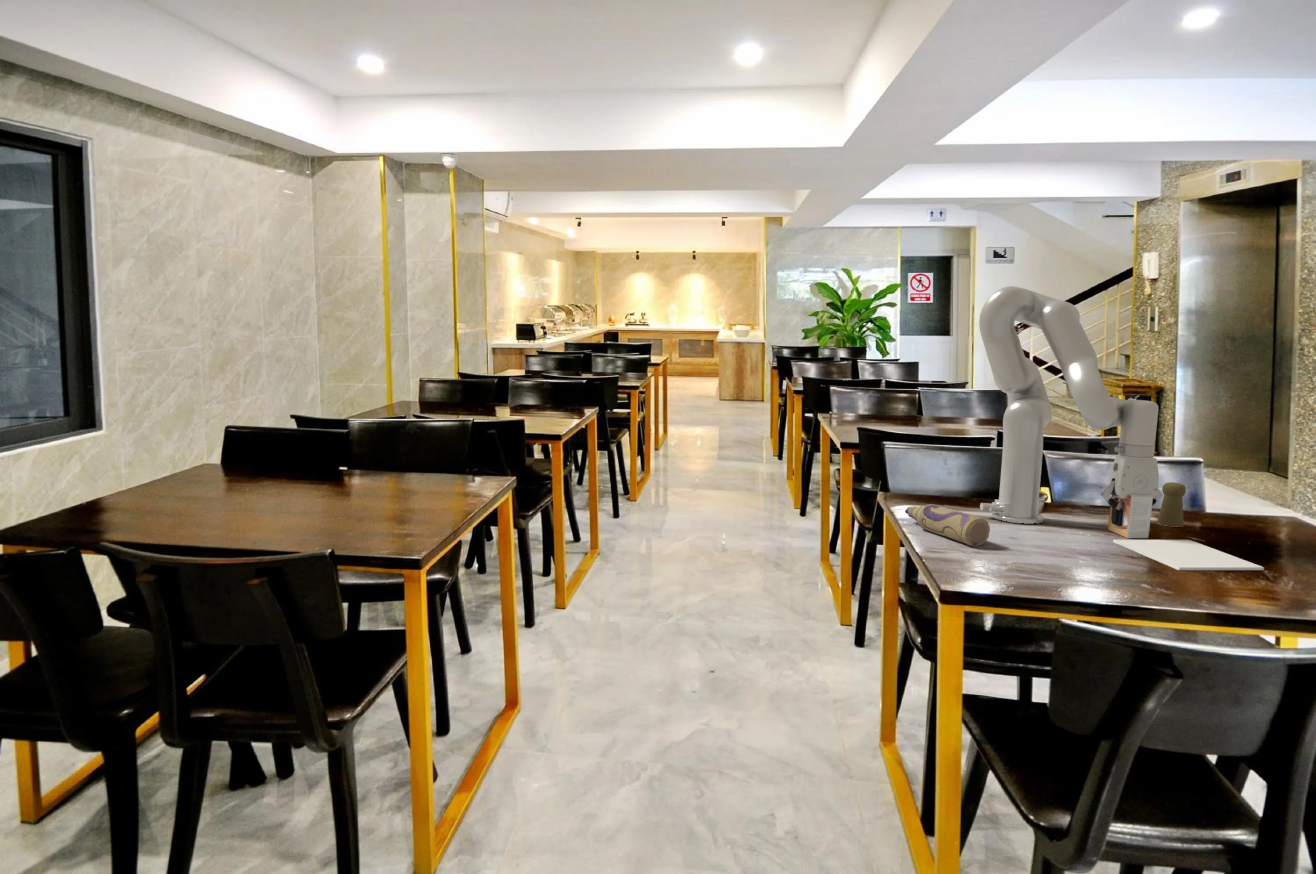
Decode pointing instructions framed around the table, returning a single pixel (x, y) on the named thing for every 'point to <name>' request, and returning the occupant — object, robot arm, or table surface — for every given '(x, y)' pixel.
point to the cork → (1172, 505)
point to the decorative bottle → (951, 524)
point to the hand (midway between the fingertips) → (1128, 524)
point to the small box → (1134, 517)
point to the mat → (1187, 555)
